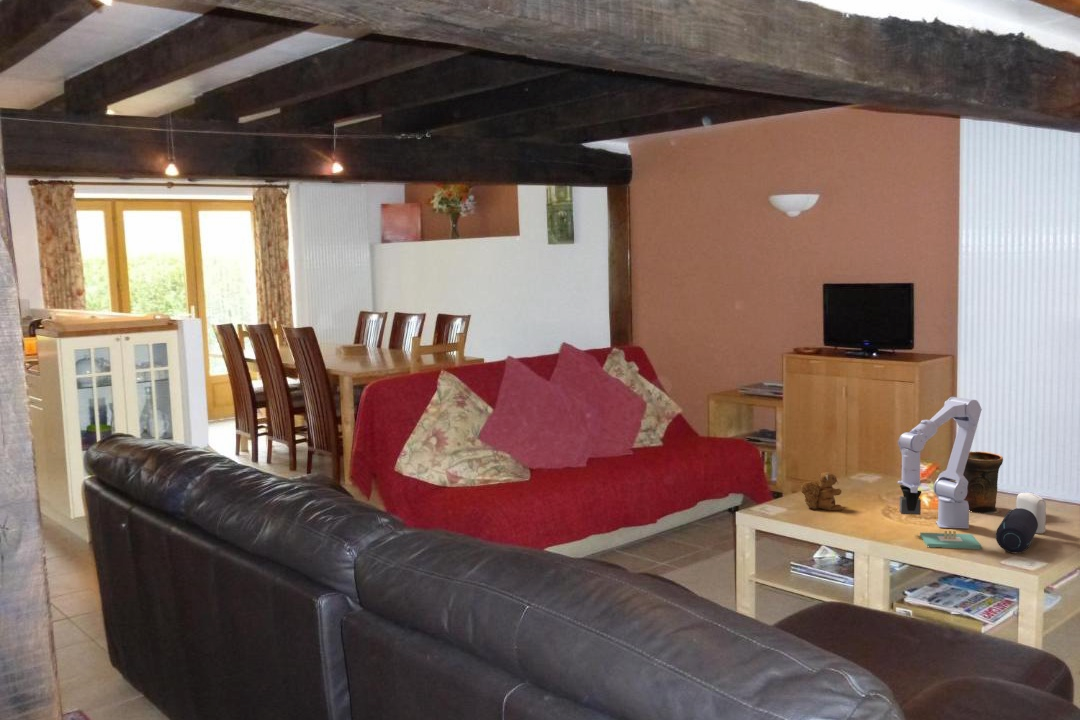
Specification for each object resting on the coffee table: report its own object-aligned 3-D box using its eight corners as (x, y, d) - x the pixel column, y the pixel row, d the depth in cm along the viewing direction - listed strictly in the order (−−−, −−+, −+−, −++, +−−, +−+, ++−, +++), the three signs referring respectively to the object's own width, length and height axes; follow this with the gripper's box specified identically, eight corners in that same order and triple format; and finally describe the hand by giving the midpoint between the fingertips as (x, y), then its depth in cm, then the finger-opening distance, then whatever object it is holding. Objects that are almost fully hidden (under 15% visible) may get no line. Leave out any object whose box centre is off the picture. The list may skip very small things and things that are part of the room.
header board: (971, 537, 309) (972, 526, 309) (981, 549, 297) (981, 537, 297) (920, 536, 312) (920, 525, 312) (927, 547, 301) (927, 535, 300)
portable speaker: (1005, 533, 314) (1006, 503, 313) (1038, 537, 308) (1039, 507, 307) (993, 553, 293) (994, 522, 292) (1029, 558, 288) (1030, 526, 286)
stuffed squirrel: (844, 510, 345) (845, 475, 344) (806, 511, 345) (806, 476, 344) (836, 503, 355) (836, 469, 354) (798, 504, 355) (798, 470, 353)
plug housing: (918, 511, 316) (918, 496, 316) (920, 514, 313) (920, 500, 312) (899, 510, 318) (899, 496, 317) (901, 514, 314) (901, 499, 313)
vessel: (990, 502, 350) (992, 450, 348) (1008, 514, 336) (1010, 459, 333) (951, 503, 351) (952, 451, 348) (967, 515, 336) (969, 460, 334)
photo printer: (1013, 526, 321) (1014, 490, 320) (1024, 524, 322) (1025, 489, 321) (1036, 534, 311) (1037, 497, 310) (1047, 533, 312) (1048, 496, 311)
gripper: (894, 463, 321) (894, 502, 323) (901, 473, 307) (900, 514, 309) (916, 464, 320) (916, 503, 321) (924, 474, 306) (923, 514, 307)
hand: (910, 508), depth 315 cm, fingers closed on plug housing, 4 cm apart
